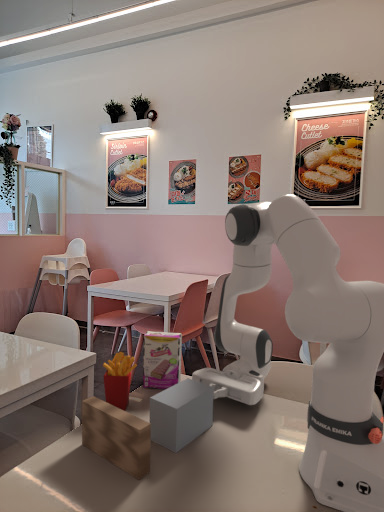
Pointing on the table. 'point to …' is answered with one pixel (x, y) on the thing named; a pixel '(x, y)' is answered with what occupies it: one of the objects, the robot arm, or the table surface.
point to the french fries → (118, 380)
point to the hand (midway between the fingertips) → (209, 394)
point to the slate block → (181, 414)
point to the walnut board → (116, 436)
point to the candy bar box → (161, 359)
